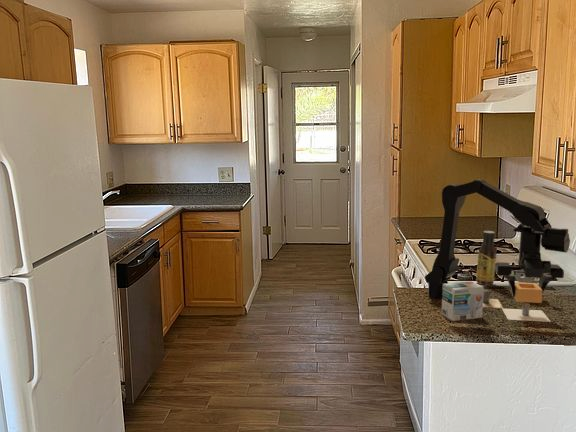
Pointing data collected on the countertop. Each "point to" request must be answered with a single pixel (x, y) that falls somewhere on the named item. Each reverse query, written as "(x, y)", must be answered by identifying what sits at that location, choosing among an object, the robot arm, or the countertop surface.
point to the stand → (490, 301)
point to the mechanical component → (525, 278)
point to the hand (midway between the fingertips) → (526, 297)
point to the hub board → (527, 318)
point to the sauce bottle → (486, 259)
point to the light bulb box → (462, 300)
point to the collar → (528, 292)
